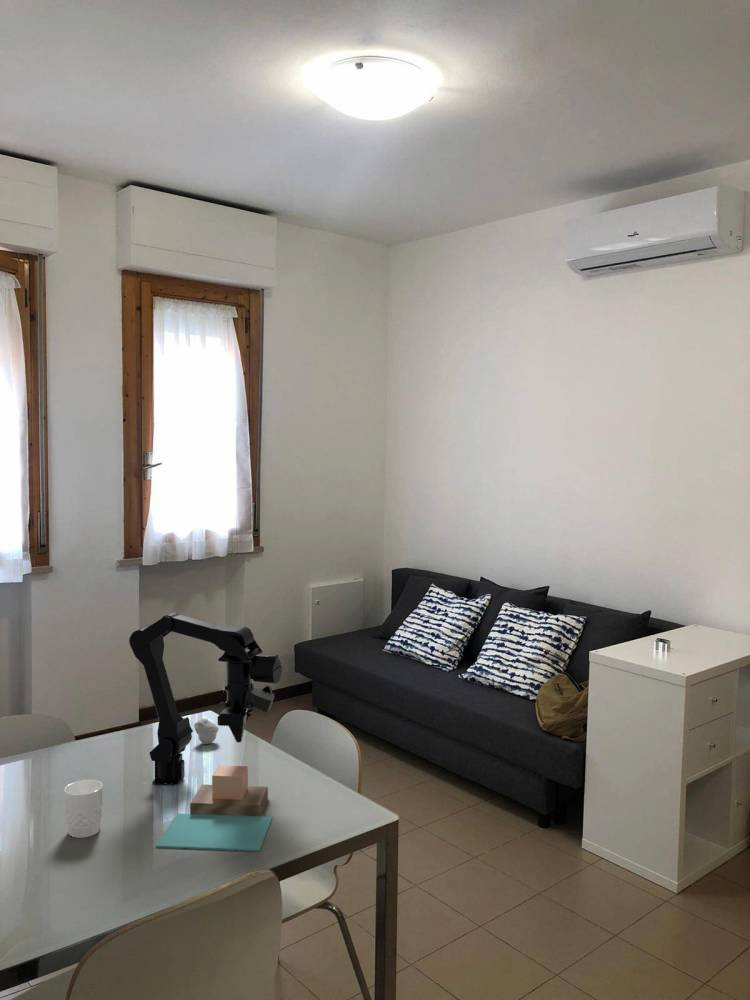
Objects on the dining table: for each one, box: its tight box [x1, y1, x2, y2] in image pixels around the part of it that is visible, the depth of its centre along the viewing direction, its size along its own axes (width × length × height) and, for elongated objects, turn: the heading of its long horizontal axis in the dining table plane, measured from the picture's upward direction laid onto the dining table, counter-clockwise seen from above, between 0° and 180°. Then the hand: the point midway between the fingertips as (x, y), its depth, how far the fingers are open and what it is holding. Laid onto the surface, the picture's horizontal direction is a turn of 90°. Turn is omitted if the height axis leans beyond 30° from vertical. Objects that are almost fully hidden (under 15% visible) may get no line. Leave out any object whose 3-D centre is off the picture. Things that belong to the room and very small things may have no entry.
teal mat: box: [155, 812, 273, 852], centre depth 182 cm, size 22×15×1 cm
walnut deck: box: [189, 784, 269, 816], centre depth 195 cm, size 16×10×3 cm, turn 86°
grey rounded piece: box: [193, 718, 220, 745], centre depth 234 cm, size 6×7×7 cm
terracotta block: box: [211, 765, 249, 800], centre depth 195 cm, size 7×6×6 cm
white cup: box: [63, 779, 104, 839], centre depth 182 cm, size 8×8×10 cm
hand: (239, 741), depth 204 cm, fingers closed
